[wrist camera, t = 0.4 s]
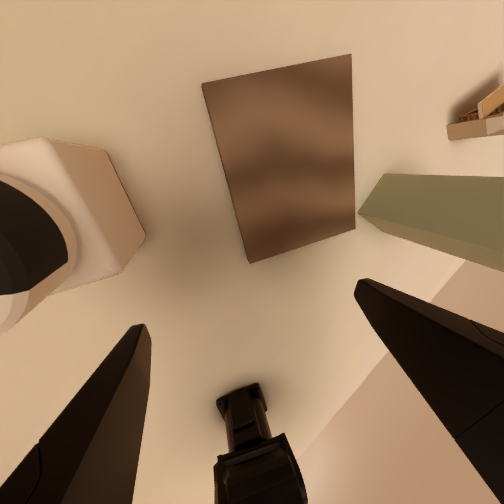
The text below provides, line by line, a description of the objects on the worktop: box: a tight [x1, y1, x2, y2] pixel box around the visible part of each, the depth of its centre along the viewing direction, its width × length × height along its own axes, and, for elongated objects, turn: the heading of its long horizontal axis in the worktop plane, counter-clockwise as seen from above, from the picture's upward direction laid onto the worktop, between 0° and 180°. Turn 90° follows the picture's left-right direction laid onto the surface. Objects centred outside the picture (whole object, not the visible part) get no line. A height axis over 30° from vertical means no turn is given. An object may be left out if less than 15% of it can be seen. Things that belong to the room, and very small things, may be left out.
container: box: [0, 137, 146, 336], centre depth 12 cm, size 8×8×13 cm
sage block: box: [358, 174, 504, 272], centre depth 19 cm, size 5×5×13 cm
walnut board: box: [202, 54, 356, 264], centre depth 21 cm, size 16×13×1 cm
